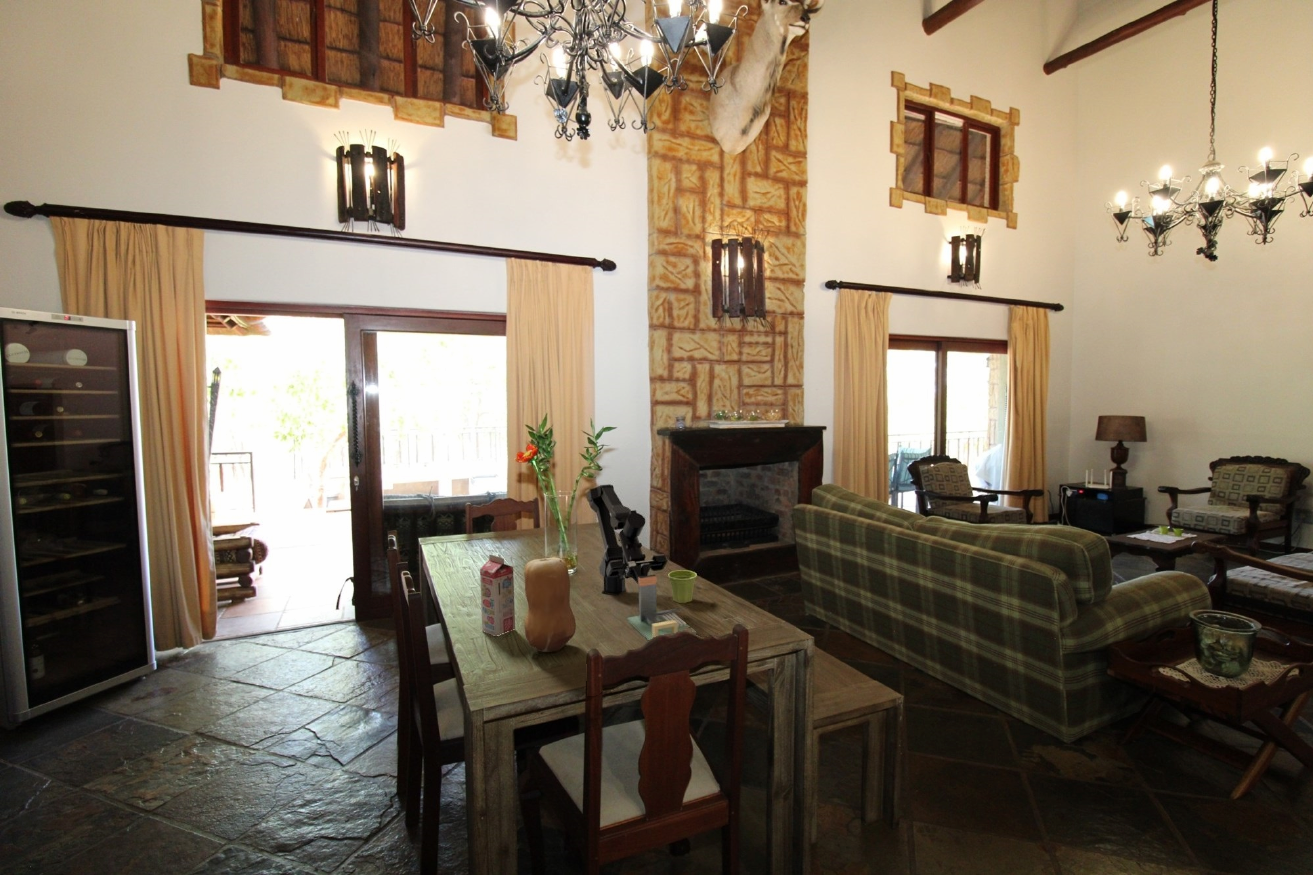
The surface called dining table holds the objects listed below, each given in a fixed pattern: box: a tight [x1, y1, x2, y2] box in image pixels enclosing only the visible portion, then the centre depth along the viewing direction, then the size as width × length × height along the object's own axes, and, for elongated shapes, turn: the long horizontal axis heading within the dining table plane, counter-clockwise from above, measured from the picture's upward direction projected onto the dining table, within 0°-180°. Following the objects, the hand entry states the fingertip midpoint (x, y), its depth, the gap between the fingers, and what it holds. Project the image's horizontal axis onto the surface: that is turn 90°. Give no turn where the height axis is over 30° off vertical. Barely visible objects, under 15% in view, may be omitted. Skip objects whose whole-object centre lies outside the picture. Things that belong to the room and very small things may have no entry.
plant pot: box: [667, 569, 698, 604], centre depth 200 cm, size 9×9×9 cm
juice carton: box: [479, 553, 516, 636], centre depth 176 cm, size 7×7×22 cm
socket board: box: [627, 612, 697, 641], centre depth 178 cm, size 18×14×4 cm
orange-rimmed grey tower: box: [637, 574, 681, 627], centre depth 180 cm, size 8×13×13 cm, turn 114°
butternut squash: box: [523, 557, 577, 653], centre depth 162 cm, size 14×13×25 cm
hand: (644, 590), depth 183 cm, fingers closed
